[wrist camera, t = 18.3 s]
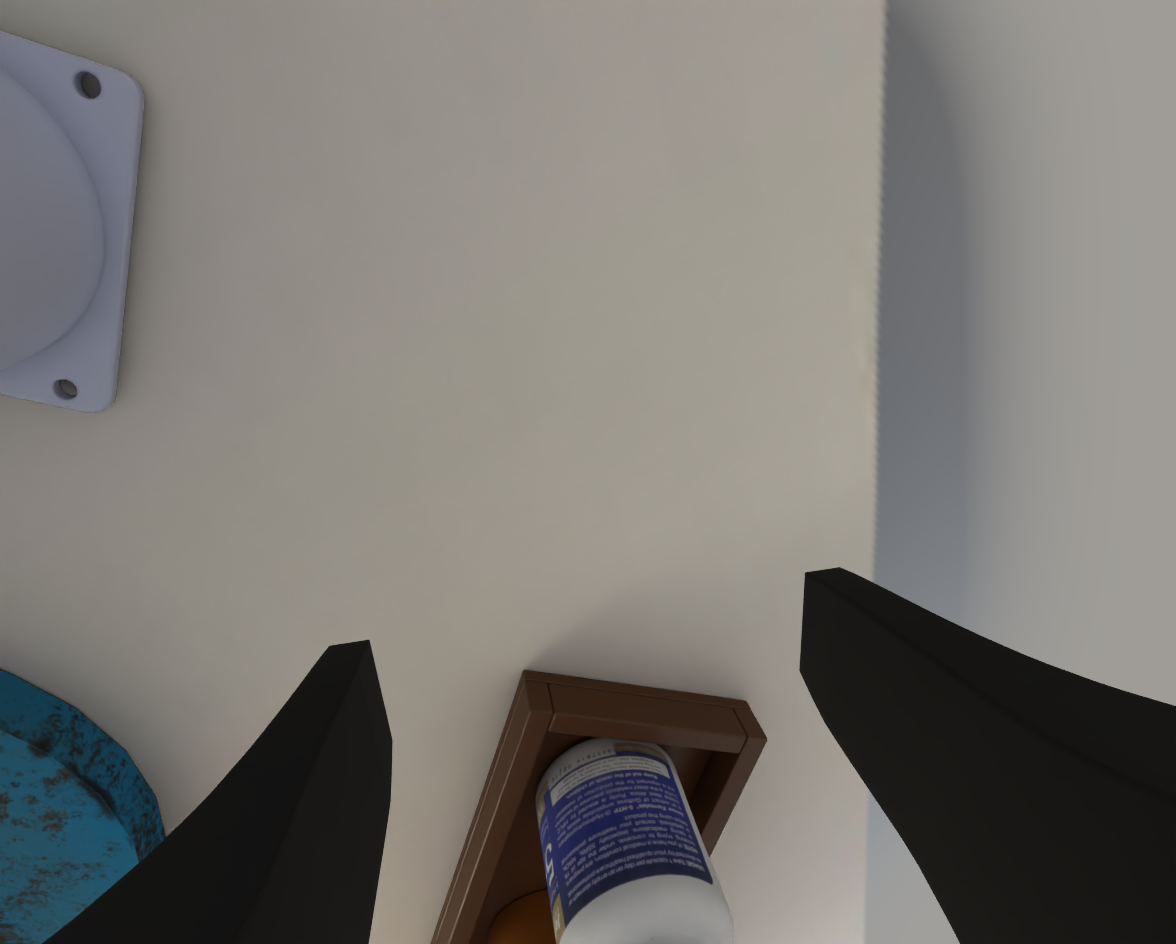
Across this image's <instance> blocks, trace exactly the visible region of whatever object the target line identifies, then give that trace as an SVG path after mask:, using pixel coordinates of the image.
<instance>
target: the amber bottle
mask: <svg viewBox="0 0 1176 944" xmlns="http://www.w3.org/2000/svg"><path fill="white" fill-rule="evenodd" d="M487 944H556V938H555V931H554V925H553V919H552V912H551V906H550V899H549V893H548V889H545V890H540V891H537V892H533V893H530V894H528V895H525V896H523V897H521V898H519V899H517V900H515V901H514V902H512V903H511V904H509V905H508V906H506V907H505V908H504V909H503V910H502V911H501V912H500V913H499V914H498V915H497V916H496V918H495V919H494V921H493V922H492V924H491V926H490V928H489V931H488V935H487Z"/></svg>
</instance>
